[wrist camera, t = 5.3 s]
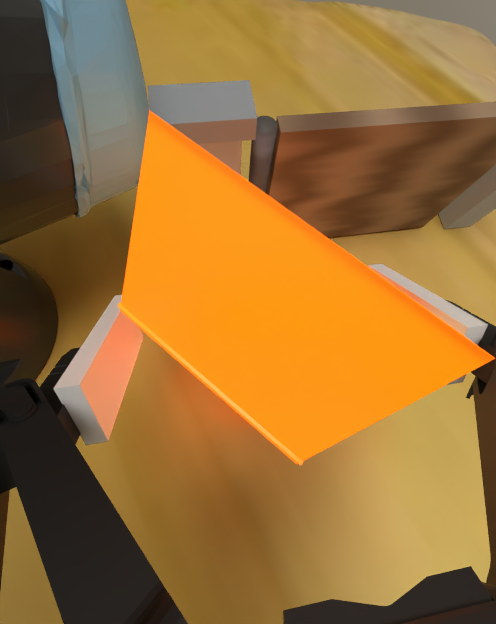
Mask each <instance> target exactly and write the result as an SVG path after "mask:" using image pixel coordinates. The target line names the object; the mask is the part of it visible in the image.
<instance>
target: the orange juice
mask: <svg viewBox="0 0 496 624" xmlns="http://www.w3.org/2000/svg"><path fill="white" fill-rule="evenodd" d="M117 306H118V307H119V308H120V311H121V312H122V313H123V314H124V315H126V316H127V317H128V318H129V319H130V320H131V321H132V322H134V323H135V324H136V325H137V326H138V327H139V328H140V329H142V330H143V331H144V332H145V333H146V334H147V335H148V336H150V337H151V338H152V339H153V340H154V341H155V342H157V343H158V344H159V345H160V346H161V347H162V348H163V349H165V350H166V351H167V352H168V353H169V354H170V355H171V356H173V357H174V358H175V359H176V360H177V361H178V362H180V363H181V364H182V365H183V366H184V367H185V368H186V369H188V370H189V371H190V372H191V373H192V374H193V375H194V376H196V377H197V378H198V379H199V380H200V381H201V382H203V383H204V384H205V385H206V386H207V387H208V388H209V389H211V390H212V391H213V392H214V393H215V394H216V395H217V396H219V397H220V398H221V399H222V400H223V401H224V402H225V403H227V404H228V405H229V406H230V407H231V408H232V409H234V410H235V411H236V412H237V413H238V414H239V415H240V416H242V417H243V418H244V419H245V420H246V421H247V422H248V423H250V424H251V425H252V426H253V427H254V428H255V429H257V430H258V431H259V432H260V433H261V434H262V435H263V436H265V437H266V438H267V439H268V440H269V441H270V442H271V443H273V444H274V445H275V446H276V447H277V448H278V449H280V450H281V451H282V452H283V453H284V454H285V455H286V456H288V457H289V458H290V459H291V460H292V461H293V462H294V463H296V464H298V463H299V464H300V465H302V463H303V462H304V460H306V459H308V458H310V457H312V456H313V455H315V454H317V453H319V452H321V451H323V450H325V449H327V448H328V447H330V446H332V445H334V444H336V443H338V442H340V441H342V440H343V439H345V438H347V437H349V436H351V435H353V434H355V433H357V432H358V431H360V430H362V429H364V428H366V427H368V426H370V425H372V424H373V423H375V422H377V421H379V420H381V419H383V418H385V417H387V416H388V415H390V414H392V413H394V412H396V411H398V410H400V409H402V408H403V407H405V406H407V405H409V404H411V403H413V402H415V401H417V400H418V399H420V398H422V397H424V396H426V395H428V394H430V393H432V392H433V391H435V390H437V389H439V388H441V387H443V386H445V385H447V384H448V383H450V382H452V381H454V380H456V379H458V378H460V377H462V376H463V375H465V374H467V373H469V372H471V371H473V370H475V369H476V368H478V367H480V366H482V365H484V364H486V363H488V362H490V361H491V360H493V359H495V358H494V357H493V356H491V355H490V354H489V353H487V352H486V351H484V350H483V349H482V348H480V347H479V346H477V345H476V344H475V343H473V342H472V341H471V340H469V339H468V338H466V337H465V336H464V335H462V334H461V333H459V332H458V331H457V330H455V329H454V328H452V327H451V326H450V325H448V324H447V323H445V322H444V321H443V320H441V319H440V318H438V317H437V316H436V315H434V314H433V313H431V312H430V311H429V310H427V309H426V308H424V307H423V306H422V305H420V304H419V303H417V302H416V301H415V300H413V299H412V298H411V297H409V296H408V295H406V294H405V293H404V292H402V291H401V290H399V289H398V288H397V287H395V286H394V285H392V284H391V283H390V282H388V281H387V280H385V279H384V278H383V277H381V276H380V275H378V274H377V273H376V272H374V271H373V270H371V269H370V268H369V267H367V266H366V265H364V264H363V263H362V262H360V261H359V260H358V259H356V258H355V257H353V256H352V255H351V254H349V253H348V252H346V251H345V250H344V249H342V248H341V247H339V246H338V245H337V244H335V243H334V242H332V241H331V240H330V239H328V238H327V237H325V236H324V235H323V234H321V233H320V232H318V231H317V230H316V229H314V228H313V227H311V226H310V225H309V224H307V223H306V222H304V221H303V220H302V219H300V218H299V217H298V216H296V215H295V214H293V213H292V212H291V211H289V210H288V209H286V208H285V207H284V206H282V205H281V204H279V203H278V202H277V201H275V200H274V199H272V198H271V197H270V196H268V195H267V194H265V193H264V192H263V191H261V190H260V189H258V188H257V187H256V186H254V185H253V184H251V183H250V182H249V181H247V180H246V179H245V178H243V177H242V176H240V175H239V174H238V173H236V172H235V171H233V170H232V169H231V168H229V167H228V166H226V165H225V164H224V163H222V162H221V161H219V160H218V159H217V158H215V157H214V156H212V155H211V154H210V153H208V152H207V151H205V150H204V149H203V148H201V147H200V146H198V145H197V144H196V143H194V142H193V141H191V140H190V139H189V138H187V137H186V136H185V135H183V134H182V133H180V132H179V131H178V130H176V129H175V128H173V127H172V126H171V125H169V124H168V123H166V122H165V121H164V120H162V119H161V118H159V117H158V116H157V115H155V114H154V113H152V112H151V111H150V110H149V117H148V124H147V130H146V137H145V144H144V151H143V157H142V164H141V171H140V178H139V185H138V191H137V198H136V205H135V212H134V218H133V225H132V232H131V239H130V245H129V252H128V259H127V266H126V272H125V279H124V286H123V293H122V299H121V302H120V303H119V304H118V305H117Z"/></svg>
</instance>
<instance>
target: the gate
mask: <svg viewBox="0 0 496 624" xmlns="http://www.w3.org/2000/svg"><path fill="white" fill-rule="evenodd" d="M495 165H496V102H483V103H468V104H453V105H438V106H423V107H408V108H394V109H379V110H364V111H349V112H334V113H319V114H304V115H289V116H277V120H276V121H275V120H274V119H273V118H271V117H269V116H260V117H257V127H256V139H255V140H252V144H251V157H250V170H249V182H250V183H251V184H253V185H254V186H256V187H257V188H258V189H260V190H261V191H263V192H264V193H265V194H267V195H268V196H270V197H271V198H272V199H274V200H275V201H277V202H278V203H279V204H281V205H282V206H284V207H285V208H286V209H288V210H289V211H291V212H292V213H293V214H295V215H296V216H298V217H299V218H300V219H302V220H303V221H304V222H306V223H307V224H309V225H310V226H311V227H313V228H314V229H316V230H317V231H318V232H320V233H321V234H323V235H324V236H325V237H327V238H328V237H337V236H346V235H355V234H364V233H373V232H382V231H391V230H400V229H409V228H418V227H423V226H424V225H426V224H427V223H428V222H429V221H430V220H431V219H433V218H434V217H435V216H436V215H437V214H438V213H440V212H441V211H442V210H443V209H444V208H445V207H447V206H448V205H449V204H450V203H451V202H452V201H454V200H455V199H456V198H457V197H458V196H459V195H461V194H462V193H463V192H464V191H465V190H467V189H468V188H469V187H470V186H471V185H472V184H474V183H475V182H476V181H477V180H478V179H479V178H481V177H482V176H483V175H484V174H485V173H486V172H488V171H489V170H490V169H491V168H492V167H493V166H495Z"/></svg>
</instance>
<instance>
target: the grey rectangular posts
mask: <svg viewBox="0 0 496 624" xmlns="http://www.w3.org/2000/svg"><path fill="white" fill-rule="evenodd" d="M148 94H149V107H150V111H151V112H152V113H154V114H155V115H157V116H158V117H159V118H161V119H162V120H164V121H165V122H166V123H168V124H169V125H171V126H172V127H173V128H175V129H176V130H178V131H179V132H180V133H182V134H183V135H185V136H186V137H187V138H189V139H190V140H191V141H193V142H194V143H196V144H197V145H198V146H200V147H201V148H203V149H204V150H205V151H207V152H208V153H210V154H211V155H212V156H214V157H215V158H217V159H218V160H219V161H221V162H222V163H224V164H225V165H226V166H228V167H229V168H231V169H232V170H233V171H235V172H236V173H238V174H239V175H240V174H241V145H242V141H244V140H255V139H256V127H257V114H256V110H255V105H254V100H253V95H252V91H251V86H250V81H249V80H246V81H227V82H209V83H190V84H171V85H153V86H148ZM494 209H496V165H495V166H493V167H492V168H491V169H490V170H489V171H488V172H486V173H485V174H484V175H483V176H482V177H481V178H479V179H478V180H477V181H476V182H475V183H474V184H472V185H471V186H470V187H469V188H468V189H467V190H465V191H464V192H463V193H462V194H461V195H459V196H458V197H457V198H456V199H455V200H454V201H452V202H451V203H450V204H449V205H448V206H447V207H445V208H444V209H443V210H442V211H441V212H440V213H438V214H439V217H440V220H441V222H442V225H443V227H444V229H452V228H461V227H469V226H471V225H473V224H474V223H475V222H477V221H478V220H480V219H481V218H483V217H484V216H486V215H487V214H489V213H490V212H492V211H493V210H494Z"/></svg>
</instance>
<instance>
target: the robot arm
mask: <svg viewBox="0 0 496 624" xmlns="http://www.w3.org/2000/svg"><path fill="white" fill-rule="evenodd" d="M148 117H149V105H148V99H147V93H146V87H145V82H144V77H143V72H142V67H141V63H140V58H139V53H138V49H137V44H136V40H135V36H134V32H133V28H132V24H131V20H130V16H129V12H128V8H127V4H126V0H0V244H3V243H5V242H8V241H10V240H13V239H15V238H18V237H20V236H22V235H25V234H27V233H30V232H32V231H35V230H37V229H39V228H42V227H44V226H47V225H49V224H52V223H54V222H57V221H59V220H61V219H64V218H66V217H69V216H71V215H74V214H75V216H76V217H77V218H80V217H83V216H85V215H86V214H88V212H89V210H90V208H91V207H93V206H95V205H98V204H100V203H102V202H104V201H106V200H108V199H111V198H113V197H115V196H117V195H119V194H121V193H123V192H126V191H128V190H130V189H132V188H134V187H135V186H136V185H137V184H139V178H140V171H141V164H142V157H143V151H144V144H145V137H146V130H147V124H148ZM368 267H369V268H370V269H371V270H373V271H374V272H376V273H377V274H378V275H380V276H381V277H383V278H384V279H385V280H387V281H388V282H390V283H391V284H392V285H394V286H395V287H397V288H398V289H399V290H401V291H402V292H404V293H405V294H406V295H408V296H409V297H411V298H412V299H413V300H415V301H416V302H417V303H419V304H420V305H422V306H423V307H424V308H426V309H427V310H429V311H430V312H431V313H433V314H434V315H436V316H437V317H438V318H440V319H441V320H443V321H444V322H445V323H447V324H448V325H450V326H451V327H452V328H454V329H455V330H457V331H458V332H459V333H461V334H462V335H464V336H465V337H466V338H468V339H469V340H471V341H472V342H473V343H475V344H476V345H477V346H479V347H480V348H482V349H483V350H484V351H486V352H487V353H489V354H490V355H491V356H493V357H494V358H495V359H493V360H491V361H490V362H488V363H486V364H484V365H482V366H480V367H478V368H476V369H475V370H473V371H471V373H473V374H474V375H475V376H476V377H475V379H474V381H473V383H472V385H471V387H470V389H469V392H468V394H467V397H466V398H469V399H470V397H471V395H474V402H475V411H476V421H477V430H478V440H479V449H480V459H481V468H482V477H483V487H484V496H485V506H486V515H487V525H488V534H489V543H490V553H491V563H490V569H489V573H488V577H487V582H486V583H484V582H481V581H480V580H479V578H478V577H477V575H476V574H475V572H474V570H473V569H472V567H471V566H470V567H466V568H462V569H458V570H453V571H449V572H445V573H441V574H436V575H432V576H428V577H426V578H425V579H424V580H422V581H421V582H420V583H418V584H417V585H416V586H415V587H413V588H412V589H411V590H410V591H408V592H407V593H406V594H404V595H403V596H402V597H401V598H399V599H398V600H397V601H395V602H394V603H393V604H391V605H389V606H377V605H370V604H362V603H355V602H348V601H341V600H334V599H330V600H326V601H322V602H318V603H313V604H309V605H305V606H301V607H297V608H292V609H288V610H284V611H283V615H284V624H496V327H495V326H494V325H492V324H490V323H488V322H486V321H485V320H483V319H481V318H479V317H478V316H476V315H474V314H471V312H469V311H467V310H465V309H463V308H462V307H460V306H458V305H456V304H455V303H453V302H450V301H447V300H444V299H442V298H441V297H439V296H437V295H435V294H434V293H432V292H430V291H428V290H427V289H425V288H423V287H421V286H420V285H418V284H416V283H414V282H413V281H411V280H409V279H407V278H406V277H404V276H402V275H400V274H399V273H397V272H395V271H393V270H392V269H390V268H388V267H386V266H385V265H383V264H374V265H369V266H368ZM121 299H122V295H116V296H114V298H113V299H112V301H111V302H110V304H109V305H108V307H107V308H106V310H105V311H104V313H103V314H102V316H101V317H100V319H99V320H98V322H97V323H96V325H95V326H94V328H93V329H92V331H91V332H90V334H89V335H88V337H87V339H86V340H85V342H84V343H83V345H82V346H81V348H74V349H71V350H70V351H69V352H67V353H66V354H65V355H64V356H62V357H61V359H60V360H59V361H58V363H57V364H56V366H55V368H53V370H52V371H51V372H50V375H48V377H47V378H46V379H45V381H44V382H43V383H42V385H41V386H40V388H39V386H38V384H37V383H36V381H34V380H35V379H36V377H37V376H38V374H39V373H40V371H41V370H42V368H43V367H44V365H45V363H46V361H47V359H48V357H49V355H50V353H51V350H52V348H53V344H54V341H55V337H56V331H57V310H56V305H55V301H54V298H53V295H52V293H51V291H50V289H49V287H48V286H47V284H46V283H45V281H44V280H43V279H42V278H41V277H40V276H39V275H38V274H37V273H36V272H35V271H34V270H32V269H31V268H29V267H28V266H26V265H24V264H23V263H21V262H19V261H18V260H16V259H14V258H13V257H11V256H9V255H7V254H5V253H2V252H0V589H1V578H2V567H3V556H4V545H5V534H6V523H7V512H8V501H9V490H10V489H12V488H15V487H17V490H18V493H19V496H20V498H21V501H22V504H23V507H24V510H25V513H26V516H27V519H28V522H29V525H30V527H31V530H32V533H33V536H34V539H35V542H36V545H37V548H38V551H39V553H40V556H41V559H42V562H43V565H44V568H45V571H46V574H47V577H48V579H49V582H50V585H51V588H52V591H53V594H54V597H55V600H56V603H57V606H58V608H59V611H60V614H61V617H62V620H63V623H64V624H188V623H187V622H186V620H185V619H184V617H183V615H182V614H181V612H180V611H179V609H178V607H177V606H176V604H175V603H174V601H173V600H172V598H171V596H170V595H169V593H168V592H167V590H166V589H165V587H164V586H163V584H162V582H161V581H160V579H159V578H158V576H157V574H156V573H155V571H154V570H153V568H152V566H151V565H150V563H149V562H148V560H147V558H146V557H145V555H144V554H143V552H142V550H141V549H140V547H139V546H138V544H137V542H136V541H135V539H134V538H133V536H132V535H131V533H130V531H129V530H128V528H127V527H126V525H125V523H124V522H123V520H122V519H121V517H120V515H119V514H118V512H117V511H116V509H115V507H114V506H113V504H112V503H111V501H110V499H109V498H108V496H107V495H106V493H105V491H104V490H103V488H102V487H101V485H100V484H99V482H98V480H97V479H96V477H95V476H94V474H93V472H92V471H91V469H90V468H89V466H88V464H87V463H86V461H85V460H84V458H83V456H82V455H81V453H80V452H79V450H78V448H77V447H76V442H77V440H78V438H79V436H80V435H81V437H82V439H83V441H84V442H85V444H86V445H89V444H95V443H101V442H107V441H109V438H110V435H111V432H112V429H113V426H114V423H115V420H116V417H117V414H118V411H119V409H120V406H121V403H122V400H123V397H124V394H125V391H126V388H127V385H128V382H129V379H130V376H131V373H132V370H133V367H134V364H135V361H136V358H137V356H138V353H139V350H140V347H141V344H142V341H143V338H144V337H143V334H142V330H141V329H140V328H139V327H138V326H137V325H136V324H135V323H134V322H132V321H131V320H130V319H129V318H128V317H127V316H126V315H124V314H123V313H122V312H121V311H120V308H119V307H118V306H117V305H118V304H119V303H120V302H121ZM465 376H466V374H465V375H463V376H462V377H460V378H458V379H456V380H454V381H452V382H450V383H448V384H454V383H460V382H463V380H464V378H465ZM448 384H447V385H448Z"/></svg>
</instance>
